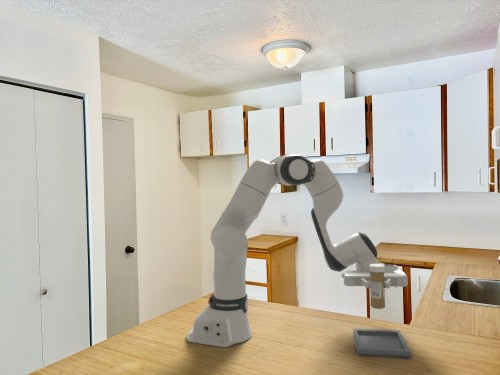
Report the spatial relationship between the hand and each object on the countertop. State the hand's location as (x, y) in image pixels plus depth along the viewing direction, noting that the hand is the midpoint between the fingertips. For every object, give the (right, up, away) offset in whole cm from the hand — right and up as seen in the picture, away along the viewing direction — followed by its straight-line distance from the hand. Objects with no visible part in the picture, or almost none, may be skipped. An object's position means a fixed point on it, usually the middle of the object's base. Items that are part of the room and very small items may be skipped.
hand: (377, 285), depth 116 cm
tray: (+1, -19, +1) cm, 19 cm away
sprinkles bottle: (0, -7, +1) cm, 7 cm away
